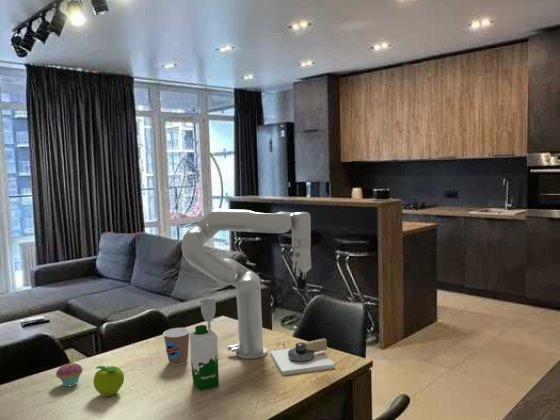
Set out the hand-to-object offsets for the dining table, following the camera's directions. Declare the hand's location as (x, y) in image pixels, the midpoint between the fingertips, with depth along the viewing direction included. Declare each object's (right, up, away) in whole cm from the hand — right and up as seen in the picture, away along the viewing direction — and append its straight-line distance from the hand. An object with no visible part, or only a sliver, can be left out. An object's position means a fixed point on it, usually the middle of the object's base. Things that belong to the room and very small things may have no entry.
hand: (301, 288), depth 190 cm
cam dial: (+2, -25, -7) cm, 26 cm away
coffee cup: (-49, -28, -4) cm, 56 cm away
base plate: (-1, -27, -8) cm, 28 cm away
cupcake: (-84, -31, -21) cm, 92 cm away
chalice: (-39, -26, +17) cm, 50 cm away
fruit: (-66, -31, -30) cm, 79 cm away
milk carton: (-34, -29, -25) cm, 52 cm away
